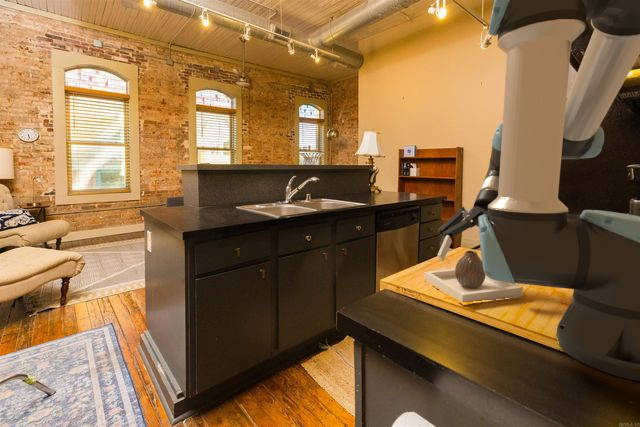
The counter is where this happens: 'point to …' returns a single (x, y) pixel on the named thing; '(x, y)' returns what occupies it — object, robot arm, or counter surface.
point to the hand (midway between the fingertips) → (466, 264)
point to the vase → (470, 270)
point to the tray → (484, 292)
